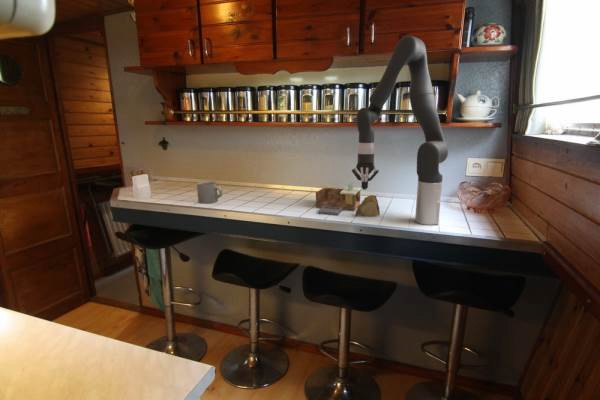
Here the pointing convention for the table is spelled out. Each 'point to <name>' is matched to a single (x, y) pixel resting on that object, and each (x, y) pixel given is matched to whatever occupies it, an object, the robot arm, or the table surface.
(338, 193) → the wooden drawer box
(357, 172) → the robot arm
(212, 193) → the coffee mug
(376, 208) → the rock
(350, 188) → the lid
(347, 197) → the block
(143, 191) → the base with upright slab
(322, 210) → the dish
